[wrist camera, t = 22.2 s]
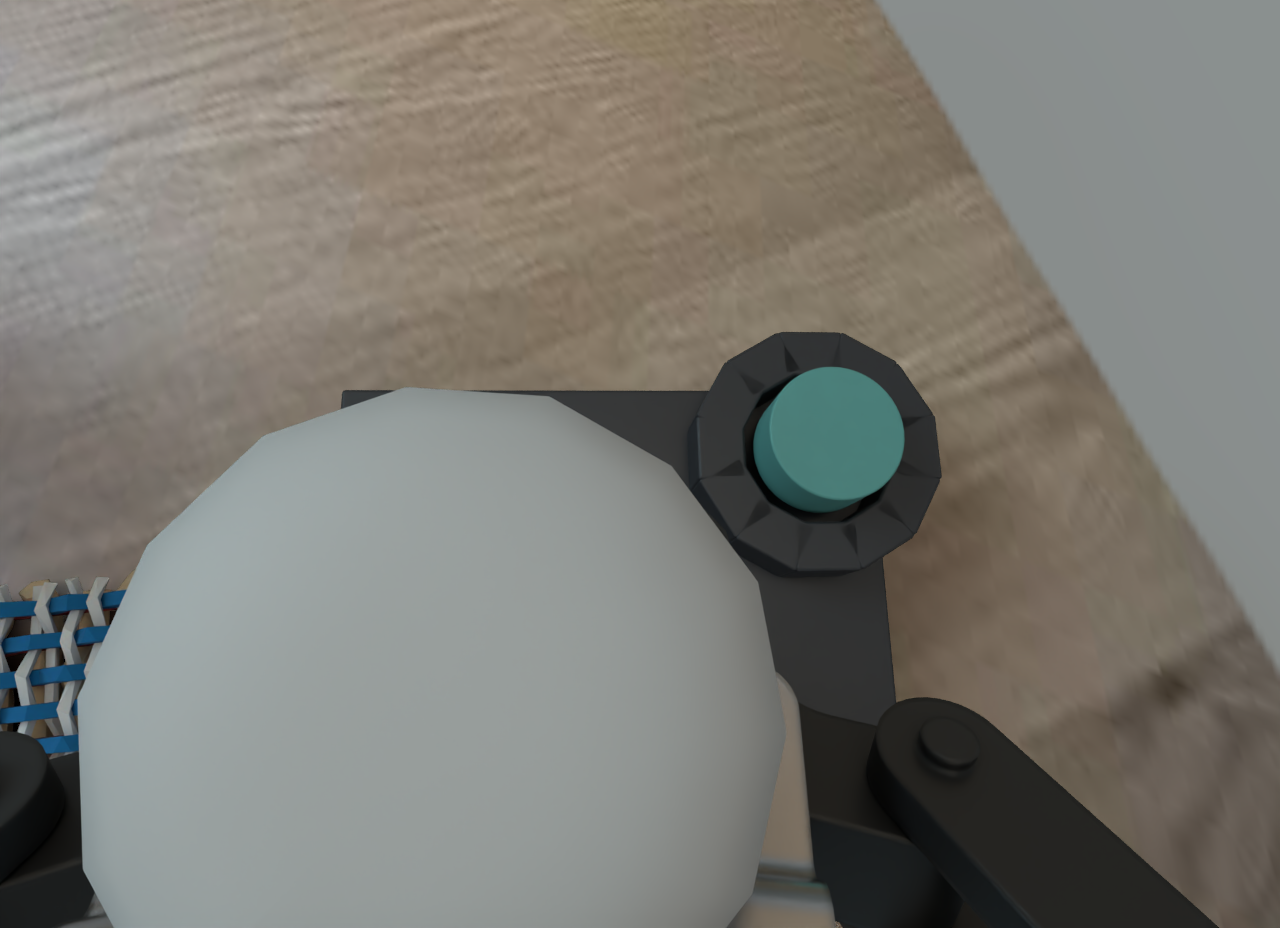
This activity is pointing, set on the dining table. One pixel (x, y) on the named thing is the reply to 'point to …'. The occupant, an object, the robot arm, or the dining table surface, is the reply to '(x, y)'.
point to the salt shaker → (433, 687)
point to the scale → (788, 509)
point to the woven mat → (52, 657)
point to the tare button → (828, 440)
